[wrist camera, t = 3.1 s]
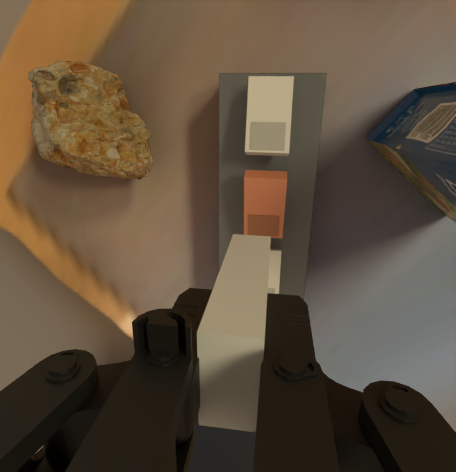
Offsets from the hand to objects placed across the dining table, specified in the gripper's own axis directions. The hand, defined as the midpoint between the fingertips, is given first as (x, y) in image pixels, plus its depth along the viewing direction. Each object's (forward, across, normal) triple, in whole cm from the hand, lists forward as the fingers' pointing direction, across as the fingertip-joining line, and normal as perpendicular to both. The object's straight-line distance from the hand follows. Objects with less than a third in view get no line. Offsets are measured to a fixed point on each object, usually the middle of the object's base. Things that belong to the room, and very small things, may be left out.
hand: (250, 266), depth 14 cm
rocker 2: (+18, 0, -2) cm, 18 cm away
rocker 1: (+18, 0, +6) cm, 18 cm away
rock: (+25, -16, +4) cm, 30 cm away
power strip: (+24, 0, -4) cm, 25 cm away
